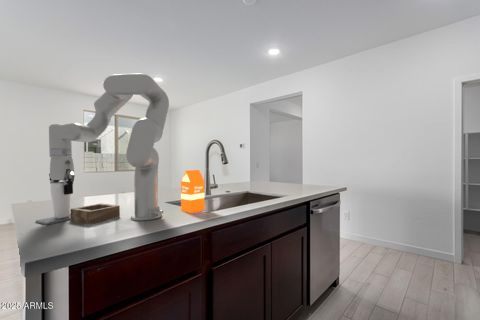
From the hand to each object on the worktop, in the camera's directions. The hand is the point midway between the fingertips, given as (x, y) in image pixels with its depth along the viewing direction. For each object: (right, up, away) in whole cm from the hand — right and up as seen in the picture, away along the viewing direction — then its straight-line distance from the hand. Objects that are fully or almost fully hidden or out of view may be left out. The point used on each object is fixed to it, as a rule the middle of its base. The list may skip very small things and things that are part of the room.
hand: (61, 193), depth 99 cm
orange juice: (+53, -11, +17) cm, 56 cm away
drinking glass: (0, -10, 0) cm, 10 cm away
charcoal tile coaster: (0, -11, 0) cm, 11 cm away
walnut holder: (+14, -11, +1) cm, 18 cm away
